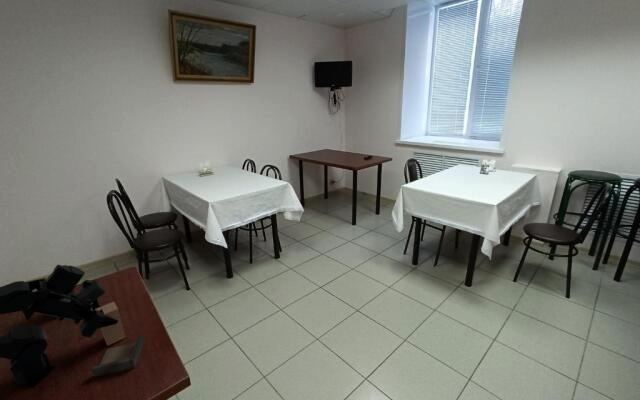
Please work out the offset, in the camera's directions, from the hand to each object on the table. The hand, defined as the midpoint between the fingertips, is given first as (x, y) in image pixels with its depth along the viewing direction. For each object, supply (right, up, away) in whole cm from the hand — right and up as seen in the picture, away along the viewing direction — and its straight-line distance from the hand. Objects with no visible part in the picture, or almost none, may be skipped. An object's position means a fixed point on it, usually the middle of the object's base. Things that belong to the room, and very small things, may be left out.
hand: (115, 318), depth 94 cm
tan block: (-1, -7, +1) cm, 7 cm away
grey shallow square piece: (+5, -9, -6) cm, 12 cm away
